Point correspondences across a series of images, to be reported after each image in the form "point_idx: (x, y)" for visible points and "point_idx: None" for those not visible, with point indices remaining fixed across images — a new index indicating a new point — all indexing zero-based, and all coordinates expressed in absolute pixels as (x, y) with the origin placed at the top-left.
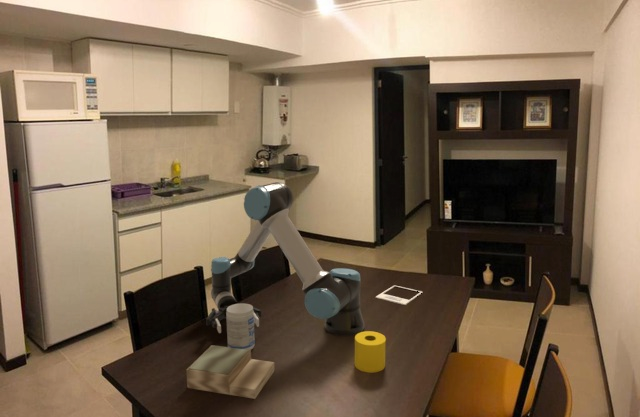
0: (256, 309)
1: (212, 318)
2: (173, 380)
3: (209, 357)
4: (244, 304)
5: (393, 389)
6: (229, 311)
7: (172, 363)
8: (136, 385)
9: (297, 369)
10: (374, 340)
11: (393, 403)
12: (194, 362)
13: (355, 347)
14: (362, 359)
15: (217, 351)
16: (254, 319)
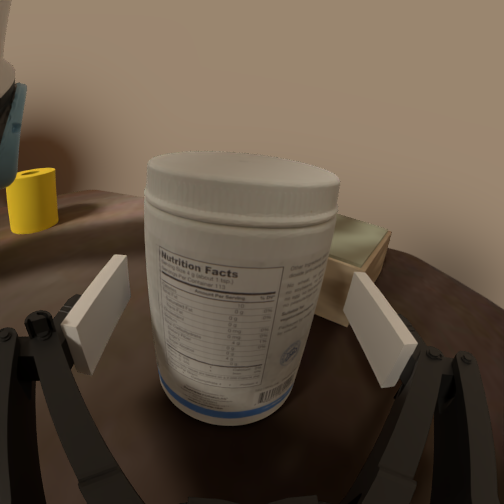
0: (25, 320)
1: (439, 353)
2: (419, 293)
3: (353, 235)
4: (188, 165)
5: (74, 201)
6: (316, 166)
7: (458, 345)
8: (474, 298)
9: (134, 245)
10: (34, 171)
11: (98, 194)
12: (384, 235)
13: (48, 189)
14: (56, 198)
15: (336, 242)
16: (106, 314)
